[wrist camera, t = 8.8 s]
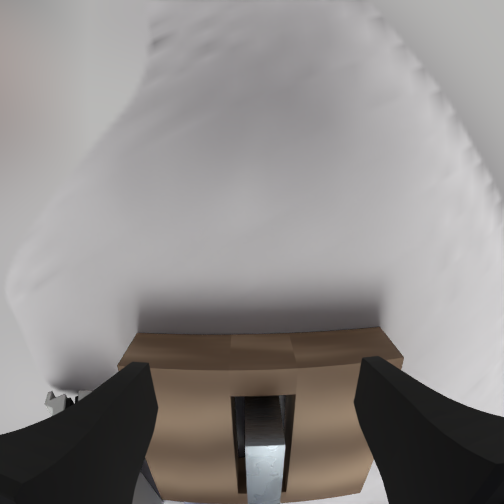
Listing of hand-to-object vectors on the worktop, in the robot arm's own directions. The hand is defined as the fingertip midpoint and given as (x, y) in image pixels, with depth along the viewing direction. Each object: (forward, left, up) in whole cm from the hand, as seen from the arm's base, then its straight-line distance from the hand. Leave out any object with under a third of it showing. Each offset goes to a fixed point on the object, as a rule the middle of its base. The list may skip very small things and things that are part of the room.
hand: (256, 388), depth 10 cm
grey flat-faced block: (-10, 0, -10) cm, 14 cm away
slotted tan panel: (-10, 0, -9) cm, 14 cm away
